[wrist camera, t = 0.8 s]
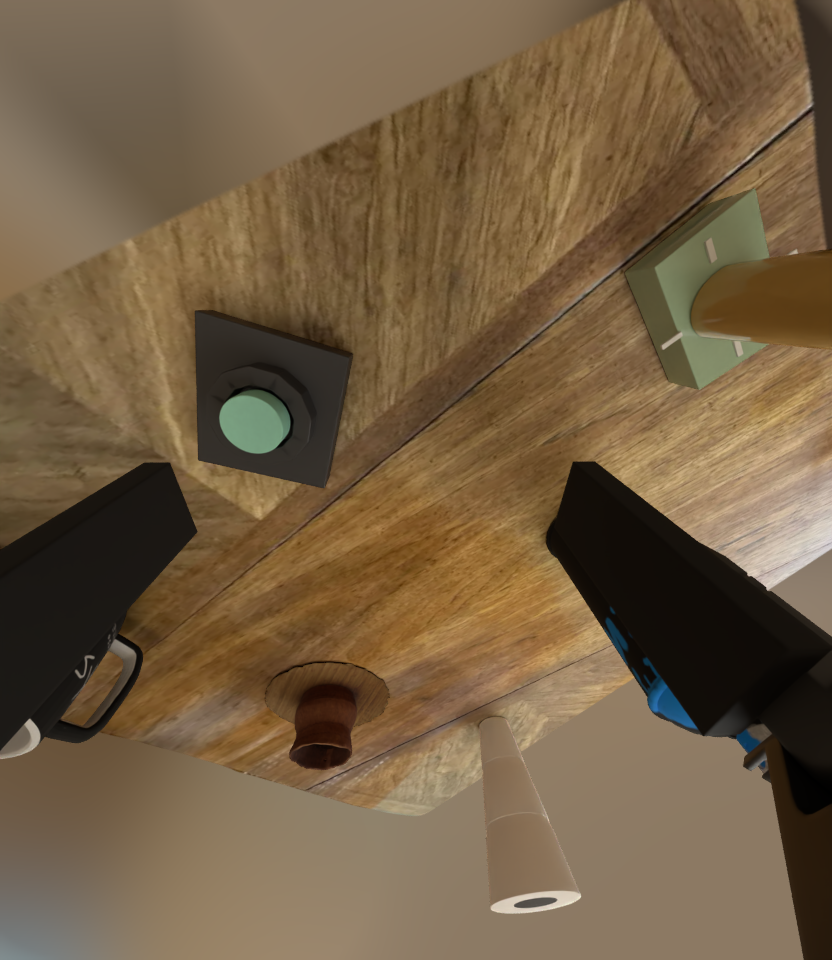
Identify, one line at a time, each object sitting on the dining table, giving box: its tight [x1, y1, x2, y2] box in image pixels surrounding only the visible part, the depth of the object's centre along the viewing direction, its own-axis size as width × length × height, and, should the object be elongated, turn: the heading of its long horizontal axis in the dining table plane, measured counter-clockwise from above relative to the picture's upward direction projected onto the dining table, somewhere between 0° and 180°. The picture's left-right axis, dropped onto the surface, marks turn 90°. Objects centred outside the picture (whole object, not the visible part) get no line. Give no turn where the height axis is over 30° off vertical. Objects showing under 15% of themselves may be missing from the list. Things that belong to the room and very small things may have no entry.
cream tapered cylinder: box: [479, 717, 581, 913], centre depth 44 cm, size 11×11×18 cm
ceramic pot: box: [265, 663, 390, 770], centre depth 43 cm, size 18×18×7 cm
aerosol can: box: [547, 519, 772, 773], centre depth 25 cm, size 8×8×20 cm
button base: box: [195, 310, 353, 488], centre depth 23 cm, size 11×10×4 cm
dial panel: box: [625, 188, 798, 390], centre depth 22 cm, size 10×9×3 cm
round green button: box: [219, 390, 291, 454], centre depth 21 cm, size 4×4×2 cm
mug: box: [0, 611, 143, 759], centre depth 28 cm, size 16×16×12 cm
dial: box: [691, 249, 832, 350], centre depth 17 cm, size 4×4×8 cm
